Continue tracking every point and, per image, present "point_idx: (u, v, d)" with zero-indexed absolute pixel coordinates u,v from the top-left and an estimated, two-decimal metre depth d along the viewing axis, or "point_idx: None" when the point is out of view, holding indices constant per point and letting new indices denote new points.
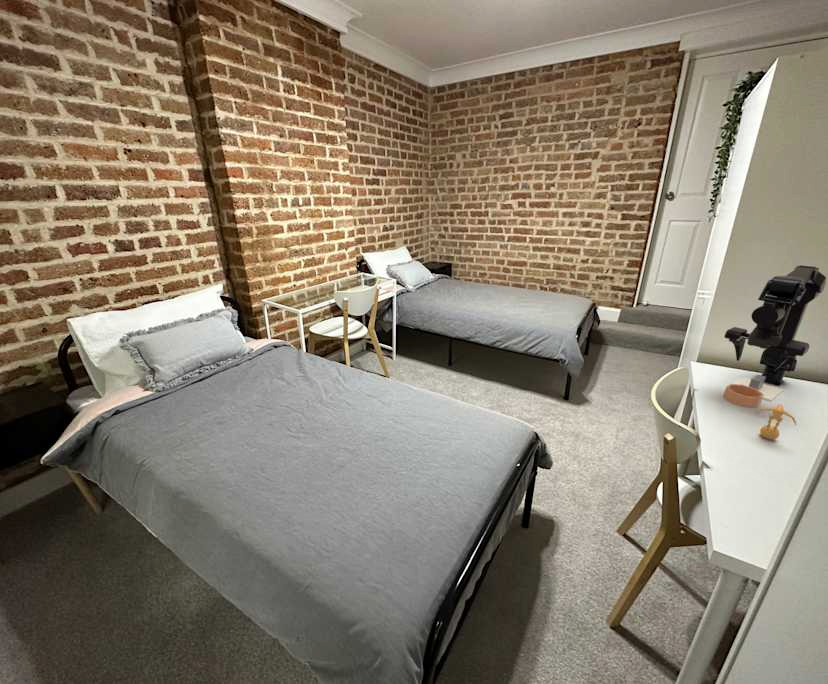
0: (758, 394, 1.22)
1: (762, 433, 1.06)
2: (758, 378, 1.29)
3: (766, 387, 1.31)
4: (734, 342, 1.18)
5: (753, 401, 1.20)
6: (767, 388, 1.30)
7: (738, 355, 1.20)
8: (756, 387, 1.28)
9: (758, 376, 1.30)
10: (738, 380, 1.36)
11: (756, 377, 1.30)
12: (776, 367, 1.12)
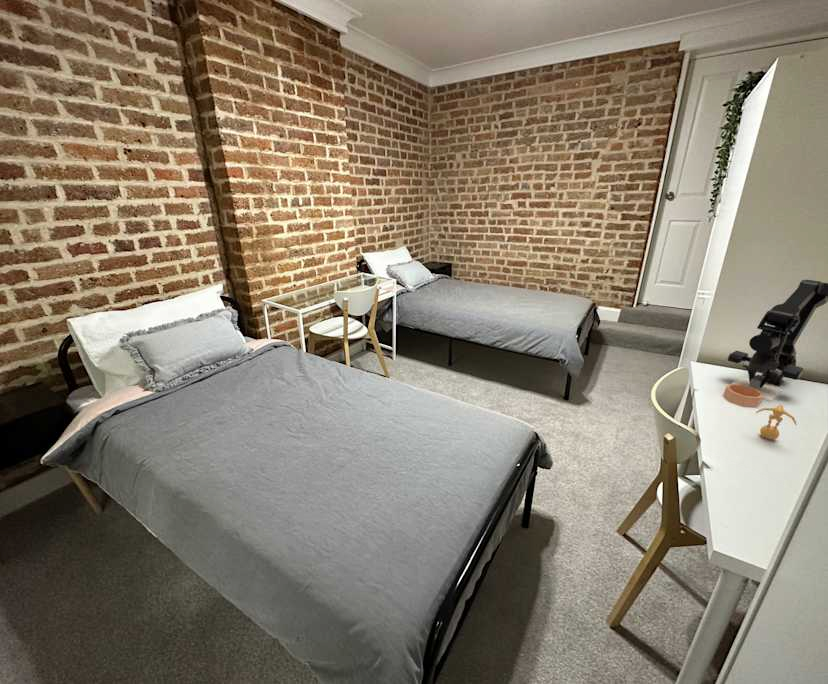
0: (758, 394, 1.22)
1: (762, 433, 1.06)
2: (758, 378, 1.29)
3: (766, 387, 1.31)
4: (747, 368, 1.29)
5: (753, 401, 1.20)
6: (767, 388, 1.30)
7: None
8: (756, 387, 1.28)
9: (758, 376, 1.30)
10: (738, 380, 1.36)
11: (756, 377, 1.30)
12: (762, 384, 1.28)
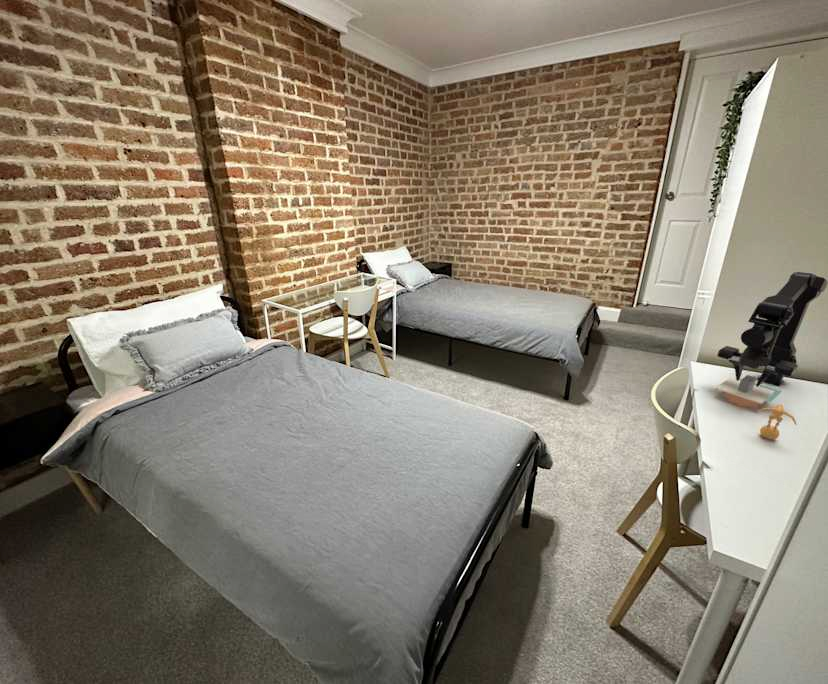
0: None
1: (762, 433, 1.06)
2: (748, 379, 1.21)
3: (757, 388, 1.23)
4: (734, 363, 1.22)
5: (753, 401, 1.20)
6: (757, 389, 1.23)
7: (738, 375, 1.23)
8: (746, 388, 1.20)
9: (749, 377, 1.22)
10: (727, 381, 1.28)
11: (746, 377, 1.22)
12: (758, 383, 1.19)
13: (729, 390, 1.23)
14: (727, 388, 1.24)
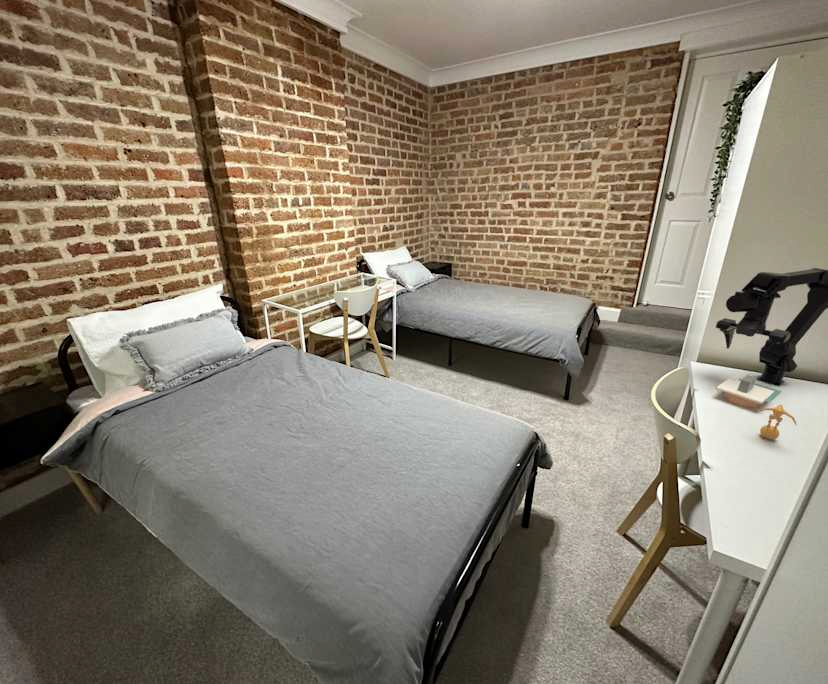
0: None
1: (762, 433, 1.06)
2: (748, 379, 1.21)
3: (757, 388, 1.23)
4: (724, 331, 1.32)
5: (753, 401, 1.20)
6: (757, 389, 1.23)
7: (728, 343, 1.33)
8: (746, 388, 1.20)
9: (749, 377, 1.22)
10: (727, 381, 1.28)
11: (746, 377, 1.22)
12: (761, 353, 1.26)
13: (729, 390, 1.23)
14: (727, 388, 1.24)
